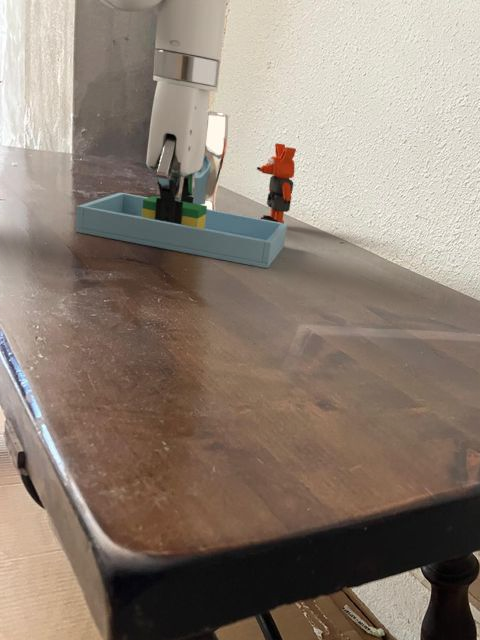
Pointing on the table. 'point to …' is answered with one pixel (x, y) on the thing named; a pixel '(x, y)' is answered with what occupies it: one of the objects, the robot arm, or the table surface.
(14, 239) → the table surface
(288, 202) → the toy animal
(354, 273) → the table surface
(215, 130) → the beer glass
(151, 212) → the sponge
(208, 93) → the robot arm
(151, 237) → the tray
